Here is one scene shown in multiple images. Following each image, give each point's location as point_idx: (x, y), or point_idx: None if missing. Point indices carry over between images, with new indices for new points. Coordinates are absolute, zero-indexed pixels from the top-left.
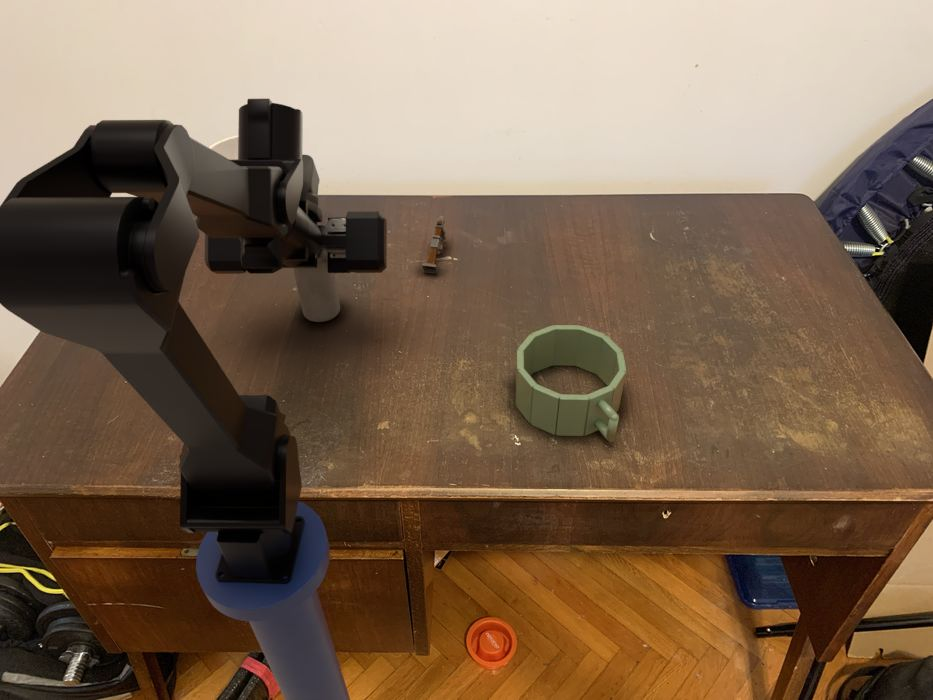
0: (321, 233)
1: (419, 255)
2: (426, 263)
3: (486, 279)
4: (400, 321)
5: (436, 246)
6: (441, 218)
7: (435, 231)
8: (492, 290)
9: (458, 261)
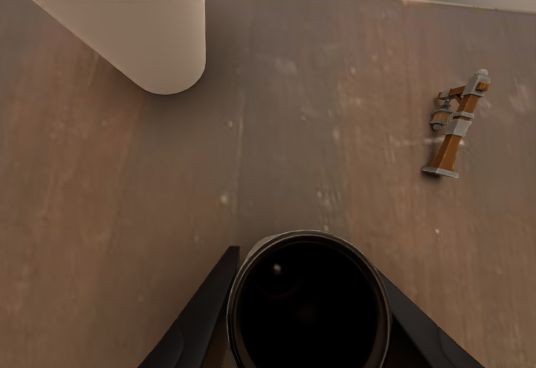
0: (354, 262)
1: (406, 129)
2: (443, 169)
3: (515, 193)
4: (405, 294)
5: (463, 134)
6: (485, 76)
7: (467, 103)
8: (530, 221)
9: (466, 147)
